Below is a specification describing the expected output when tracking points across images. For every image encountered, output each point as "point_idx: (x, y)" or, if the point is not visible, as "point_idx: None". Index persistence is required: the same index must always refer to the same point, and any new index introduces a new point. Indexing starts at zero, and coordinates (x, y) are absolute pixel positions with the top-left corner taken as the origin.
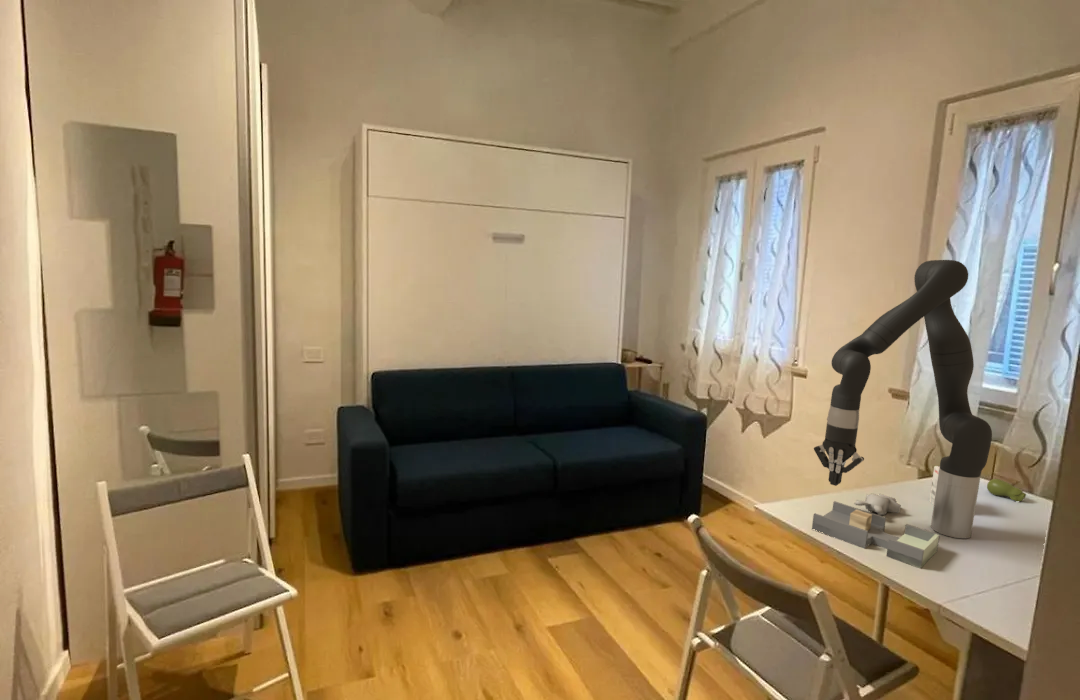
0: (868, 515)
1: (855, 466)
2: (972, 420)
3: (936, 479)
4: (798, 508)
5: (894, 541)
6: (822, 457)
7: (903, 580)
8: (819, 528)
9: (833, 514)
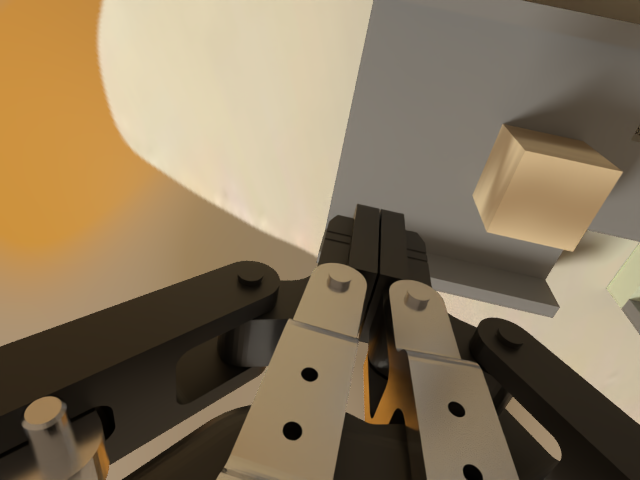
0: (593, 203)
1: (623, 429)
2: None
3: None
4: (203, 5)
5: None
6: (165, 425)
7: (623, 402)
8: None
9: (389, 69)
